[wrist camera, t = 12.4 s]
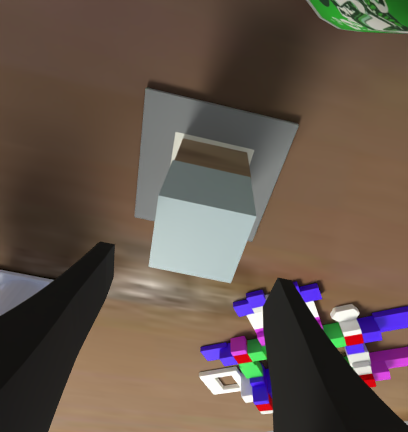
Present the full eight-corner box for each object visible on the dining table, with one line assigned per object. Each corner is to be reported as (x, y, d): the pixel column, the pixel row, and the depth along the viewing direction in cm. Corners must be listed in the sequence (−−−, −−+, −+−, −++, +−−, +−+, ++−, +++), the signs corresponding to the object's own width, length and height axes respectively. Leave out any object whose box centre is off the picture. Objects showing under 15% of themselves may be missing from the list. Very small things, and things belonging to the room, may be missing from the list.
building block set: (400, 251, 25) (430, 292, 21) (411, 370, 35) (433, 411, 31) (153, 311, 32) (143, 349, 28) (222, 395, 42) (221, 431, 38)
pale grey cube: (229, 237, 19) (230, 283, 15) (162, 223, 18) (148, 266, 15) (250, 177, 16) (256, 216, 13) (172, 159, 16) (158, 195, 12)
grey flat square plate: (251, 238, 24) (252, 241, 24) (135, 214, 23) (134, 217, 23) (297, 123, 18) (298, 125, 18) (146, 87, 18) (145, 88, 18)
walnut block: (230, 206, 22) (231, 238, 19) (173, 194, 22) (164, 224, 18) (247, 152, 19) (251, 178, 16) (182, 138, 19) (173, 161, 16)
